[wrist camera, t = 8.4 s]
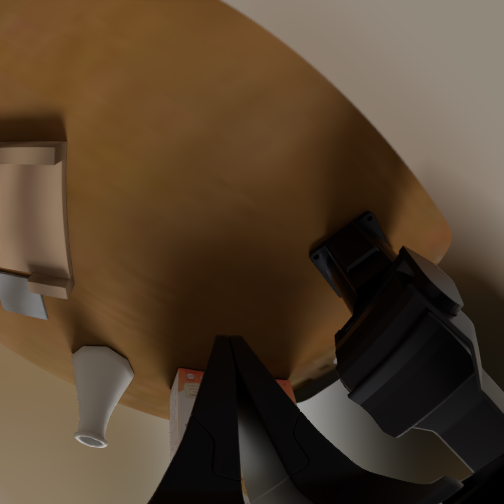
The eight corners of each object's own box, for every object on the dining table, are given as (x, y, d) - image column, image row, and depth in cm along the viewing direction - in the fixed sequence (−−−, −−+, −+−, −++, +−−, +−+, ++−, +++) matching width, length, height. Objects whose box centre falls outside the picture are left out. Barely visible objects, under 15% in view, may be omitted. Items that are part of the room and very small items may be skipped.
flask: (62, 349, 26) (41, 425, 18) (109, 337, 26) (92, 424, 17) (98, 384, 30) (88, 454, 22) (145, 376, 30) (141, 454, 21)
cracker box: (291, 376, 34) (338, 532, 16) (271, 400, 36) (306, 538, 19) (177, 363, 29) (189, 556, 12) (168, 390, 32) (176, 553, 14)
